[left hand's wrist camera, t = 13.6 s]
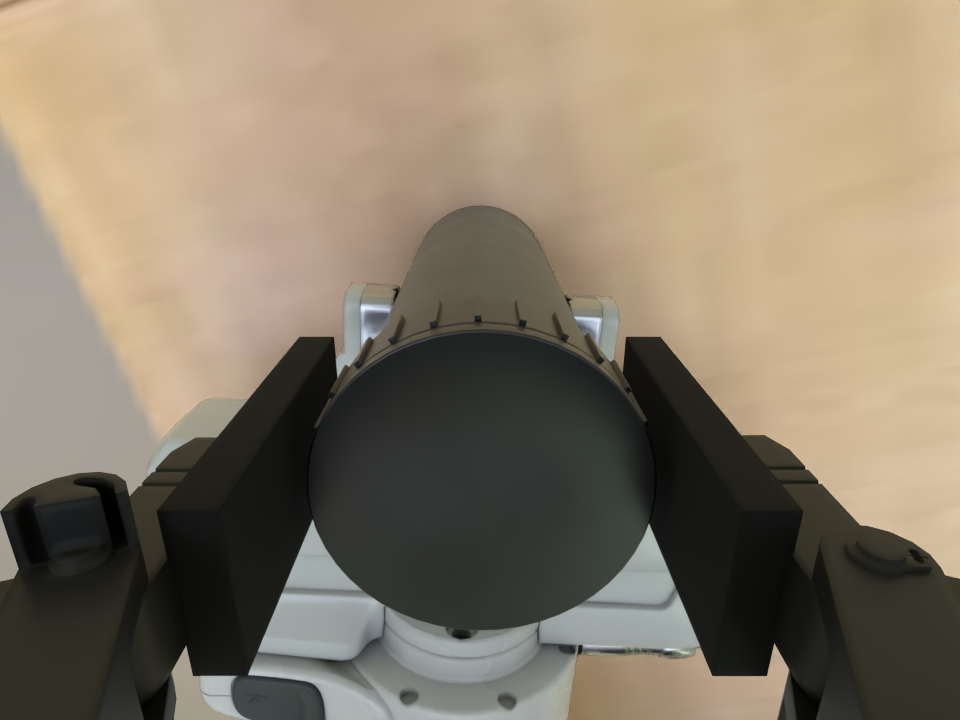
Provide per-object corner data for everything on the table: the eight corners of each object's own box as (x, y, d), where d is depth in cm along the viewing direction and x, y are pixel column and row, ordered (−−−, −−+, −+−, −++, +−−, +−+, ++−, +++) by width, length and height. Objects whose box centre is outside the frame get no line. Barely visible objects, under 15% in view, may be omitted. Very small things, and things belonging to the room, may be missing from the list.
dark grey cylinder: (507, 180, 24) (550, 278, 9) (566, 296, 26) (681, 531, 11) (391, 246, 25) (266, 428, 10) (456, 352, 27) (428, 640, 12)
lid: (550, 231, 10) (563, 253, 9) (683, 496, 12) (715, 554, 11) (263, 387, 12) (227, 432, 10) (427, 609, 13) (420, 678, 12)
